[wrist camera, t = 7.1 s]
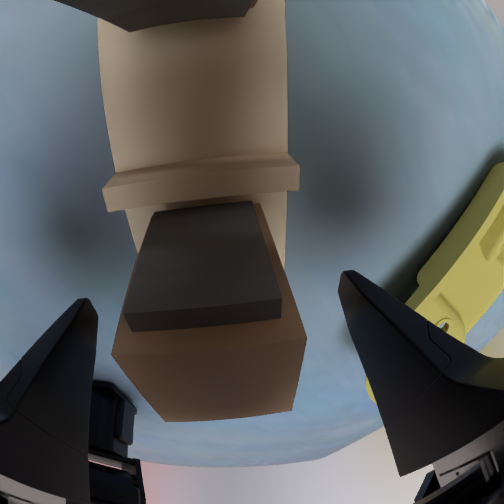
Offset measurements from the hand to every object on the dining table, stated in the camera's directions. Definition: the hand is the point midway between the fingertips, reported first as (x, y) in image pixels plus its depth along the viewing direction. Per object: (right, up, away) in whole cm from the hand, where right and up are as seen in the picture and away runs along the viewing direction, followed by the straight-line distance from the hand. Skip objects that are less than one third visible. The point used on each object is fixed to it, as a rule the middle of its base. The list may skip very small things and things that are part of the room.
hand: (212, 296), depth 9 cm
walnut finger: (0, +1, +2) cm, 2 cm away
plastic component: (+17, 0, +8) cm, 19 cm away
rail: (-1, +6, +1) cm, 6 cm away
